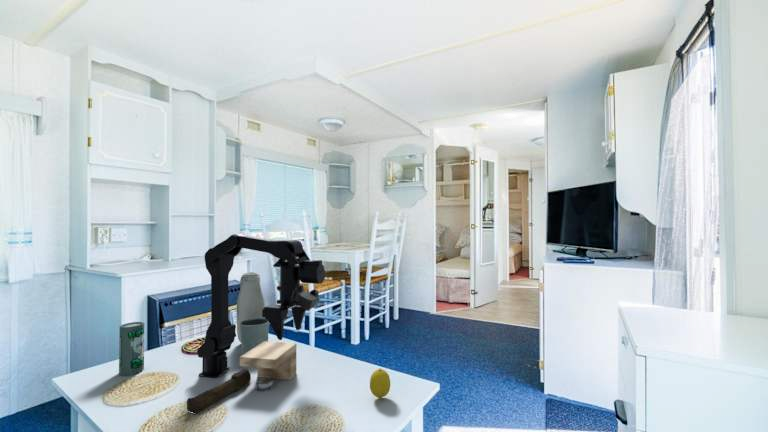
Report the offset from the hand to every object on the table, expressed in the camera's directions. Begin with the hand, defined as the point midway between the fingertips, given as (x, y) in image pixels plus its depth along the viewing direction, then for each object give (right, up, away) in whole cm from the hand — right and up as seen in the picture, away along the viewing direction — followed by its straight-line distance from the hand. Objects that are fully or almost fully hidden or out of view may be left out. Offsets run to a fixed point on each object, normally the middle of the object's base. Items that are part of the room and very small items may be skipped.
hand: (289, 334), depth 101 cm
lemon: (+27, -14, -10) cm, 32 cm away
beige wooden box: (-6, -14, 0) cm, 15 cm away
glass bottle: (-24, -15, +33) cm, 44 cm away
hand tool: (-16, -14, -8) cm, 23 cm away
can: (-53, -15, +8) cm, 55 cm away
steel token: (-6, -14, -4) cm, 16 cm away
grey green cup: (-19, -15, +21) cm, 32 cm away
